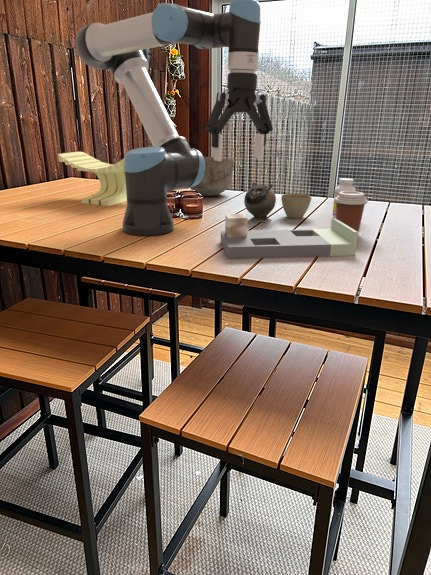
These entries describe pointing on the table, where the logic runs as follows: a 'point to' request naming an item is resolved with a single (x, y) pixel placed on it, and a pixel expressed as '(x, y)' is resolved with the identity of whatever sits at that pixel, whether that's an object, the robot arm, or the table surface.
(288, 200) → the flower pot
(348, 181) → the supplement bottle
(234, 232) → the cream block
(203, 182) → the bowl
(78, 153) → the slatted curved stool
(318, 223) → the table surface
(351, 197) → the coffee cup
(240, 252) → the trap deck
